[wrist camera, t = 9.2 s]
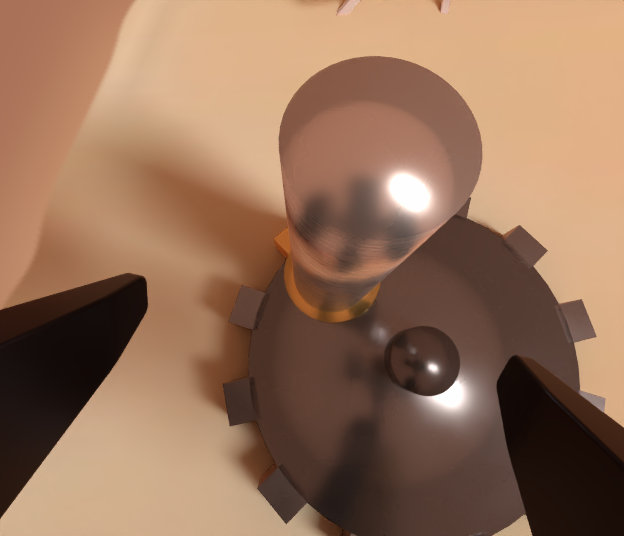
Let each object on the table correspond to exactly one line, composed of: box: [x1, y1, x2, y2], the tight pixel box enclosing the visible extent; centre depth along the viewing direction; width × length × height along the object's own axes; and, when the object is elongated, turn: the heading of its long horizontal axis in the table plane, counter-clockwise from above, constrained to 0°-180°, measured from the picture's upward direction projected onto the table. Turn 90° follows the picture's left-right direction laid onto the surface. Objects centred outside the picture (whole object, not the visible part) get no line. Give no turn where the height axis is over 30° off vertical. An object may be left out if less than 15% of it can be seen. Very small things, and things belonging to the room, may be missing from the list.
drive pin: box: [279, 56, 482, 312], centre depth 12 cm, size 4×4×11 cm
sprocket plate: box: [223, 197, 605, 536], centre depth 16 cm, size 17×17×3 cm
